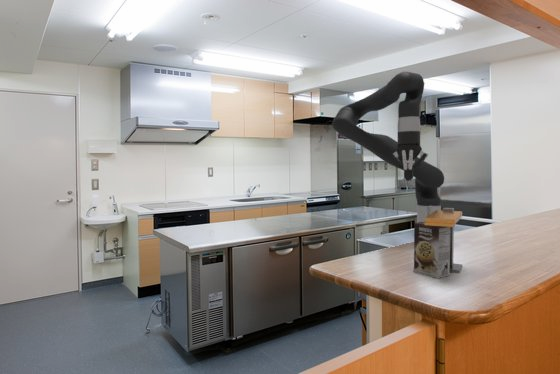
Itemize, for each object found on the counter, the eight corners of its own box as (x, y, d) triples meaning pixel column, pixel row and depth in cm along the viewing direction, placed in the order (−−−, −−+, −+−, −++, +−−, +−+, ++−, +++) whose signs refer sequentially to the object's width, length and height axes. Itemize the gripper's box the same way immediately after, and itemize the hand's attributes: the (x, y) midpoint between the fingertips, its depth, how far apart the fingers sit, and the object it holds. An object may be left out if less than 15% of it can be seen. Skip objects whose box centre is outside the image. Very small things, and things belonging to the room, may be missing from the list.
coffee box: (412, 271, 122) (413, 222, 121) (425, 268, 125) (426, 220, 124) (437, 279, 114) (438, 226, 113) (450, 275, 118) (451, 224, 117)
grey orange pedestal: (424, 281, 112) (424, 214, 111) (436, 263, 131) (437, 206, 130) (453, 285, 108) (454, 216, 107) (462, 266, 127) (463, 207, 125)
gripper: (386, 131, 132) (386, 180, 133) (426, 128, 125) (426, 181, 126) (392, 132, 138) (392, 179, 139) (430, 130, 131) (430, 180, 132)
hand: (408, 180), depth 133 cm, fingers closed
